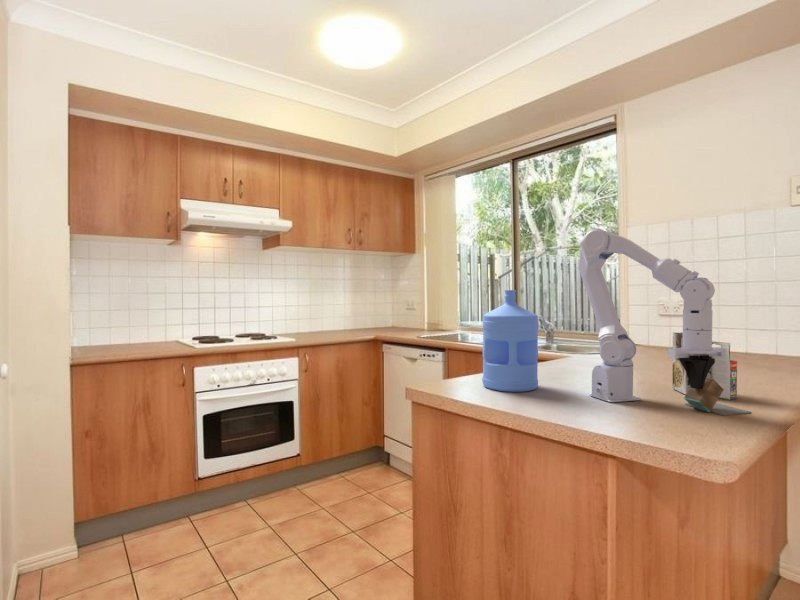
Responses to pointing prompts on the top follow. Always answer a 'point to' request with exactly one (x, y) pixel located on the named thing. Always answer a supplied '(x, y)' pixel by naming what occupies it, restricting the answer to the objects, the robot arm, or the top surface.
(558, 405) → the top surface
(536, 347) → the water jug
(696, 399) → the walnut block
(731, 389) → the ink box
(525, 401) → the top surface
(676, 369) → the coffee box
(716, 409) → the rubber mat
